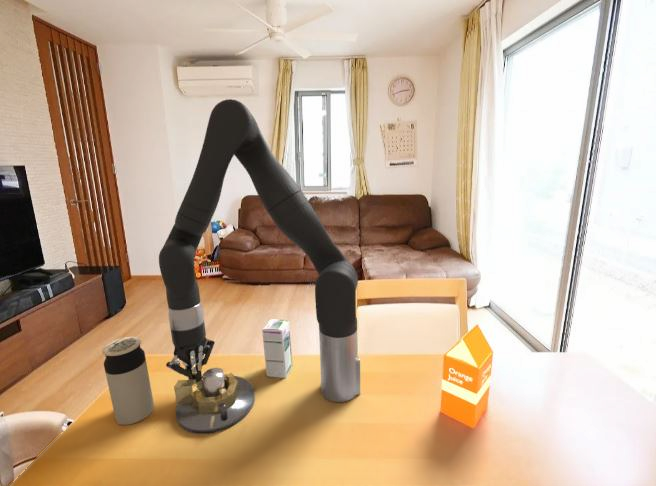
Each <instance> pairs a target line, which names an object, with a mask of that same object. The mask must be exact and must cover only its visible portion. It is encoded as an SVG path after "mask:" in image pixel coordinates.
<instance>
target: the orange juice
mask: <svg viewBox="0 0 656 486" xmlns="http://www.w3.org/2000/svg"><path fill="white" fill-rule="evenodd" d="M493 358H494V350H493V349H492V347H491V346H490V344H489V342H488V340H487V338H486V336H485V335H484V332H482V329H481V328H480V326H479V324H478V323H476V325H475V326H473V327H472V328H471V329H470V330H469V331H468V332H466V333H465V334H464V335H463V336H462V337H461V338H460V339H458V341H456V343H454V345H452V347H451V348H450V349H449V350H448V351H447V352H446V353H445V354H444V355H443V364H442V379H441V397H440V413H442V414H444V415H446V416H448V417H450V418H452V419H454V420H456V421H458V422H460V423H463V424H464V425H466V426H468V427H469V428H471V429H474V428H475V427H476V426H477V424H478V422H479V420H480V419H481V418H482V416H483V415H484V412H485V411H487V408H488V405H489V395H490V387H491V386H490V385H491V378H492V368H493V367H492V366H493Z"/></svg>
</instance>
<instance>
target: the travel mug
mask: <svg viewBox="0 0 656 486" xmlns="http://www.w3.org/2000/svg"><path fill="white" fill-rule="evenodd" d="M141 344H142V339H141V338H140V337H138V336H126V337H120V338H118V339H115V340H113V341H110V342H109V343H107V344H106V345H104V347H103V348H102V351H101V353H102V354H103V355H104V357H105V358H104V362H103V367H104V368H103V369H104V372H105V376H106V382H107V386H108V391H109V395H110V400H111V404H112V405H111V406H112V408H113V413H114V418H115V421H116V423H117V424H119V425H126V426H127V425H132V424H136V423H138V422H141V421H142V420H145V418H147V417H148V416H149V415H150V414H151V413H152V412H153V411H154V408H155V402H154V397H153V392H152V386H151V381H150V375H149V370H148V365H147V364H148V363H147V360H146V353H145V350H144V349H143V348H142V347H141Z"/></svg>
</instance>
